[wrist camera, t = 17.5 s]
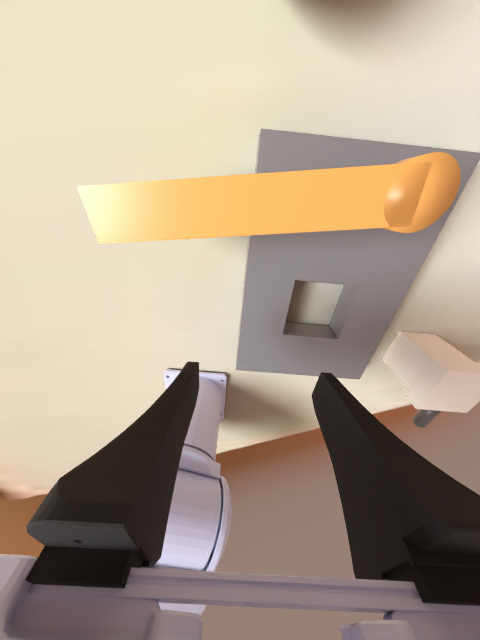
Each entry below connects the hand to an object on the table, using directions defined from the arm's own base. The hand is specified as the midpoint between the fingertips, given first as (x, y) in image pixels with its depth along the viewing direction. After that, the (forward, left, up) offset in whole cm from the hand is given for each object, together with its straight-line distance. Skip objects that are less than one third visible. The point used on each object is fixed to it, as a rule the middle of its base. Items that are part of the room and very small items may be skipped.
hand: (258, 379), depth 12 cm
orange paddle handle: (+9, +1, -3) cm, 10 cm away
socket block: (+3, -6, -10) cm, 12 cm away
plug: (-6, -19, -10) cm, 22 cm away
